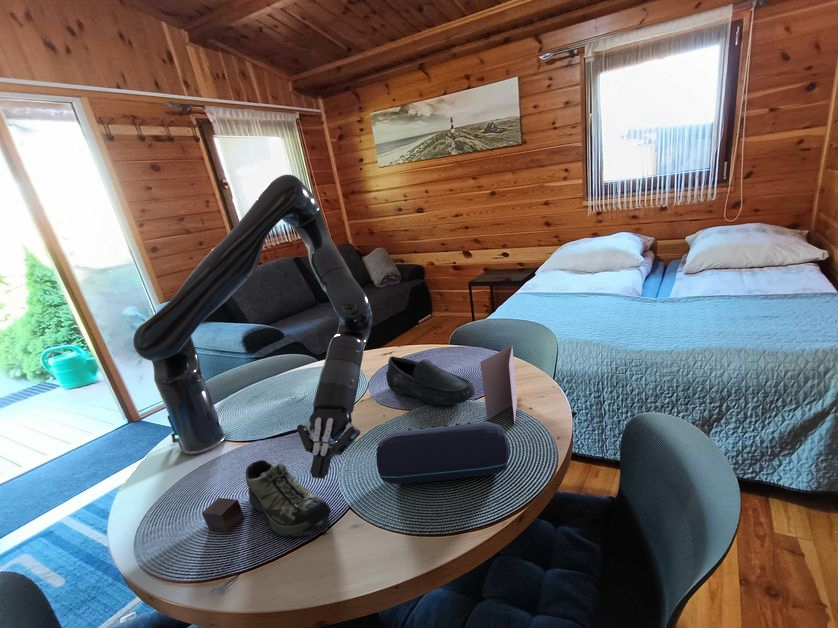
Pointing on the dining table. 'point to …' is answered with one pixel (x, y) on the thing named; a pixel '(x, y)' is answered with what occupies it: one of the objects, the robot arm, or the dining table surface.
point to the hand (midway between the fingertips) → (317, 477)
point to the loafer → (427, 382)
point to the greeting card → (499, 382)
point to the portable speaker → (442, 453)
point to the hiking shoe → (285, 500)
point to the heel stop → (223, 514)
